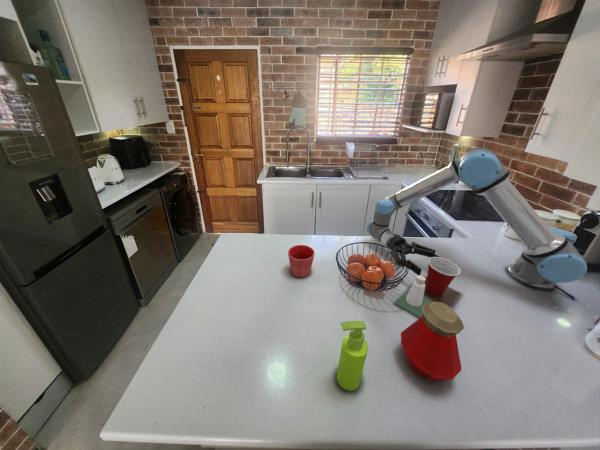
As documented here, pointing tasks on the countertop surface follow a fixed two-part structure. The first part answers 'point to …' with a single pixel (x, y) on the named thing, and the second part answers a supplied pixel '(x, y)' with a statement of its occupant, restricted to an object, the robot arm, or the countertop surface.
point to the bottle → (433, 343)
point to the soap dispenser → (352, 355)
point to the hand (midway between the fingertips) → (433, 268)
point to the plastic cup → (440, 274)
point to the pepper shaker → (416, 292)
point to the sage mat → (413, 310)
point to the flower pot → (301, 260)
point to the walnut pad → (445, 298)
